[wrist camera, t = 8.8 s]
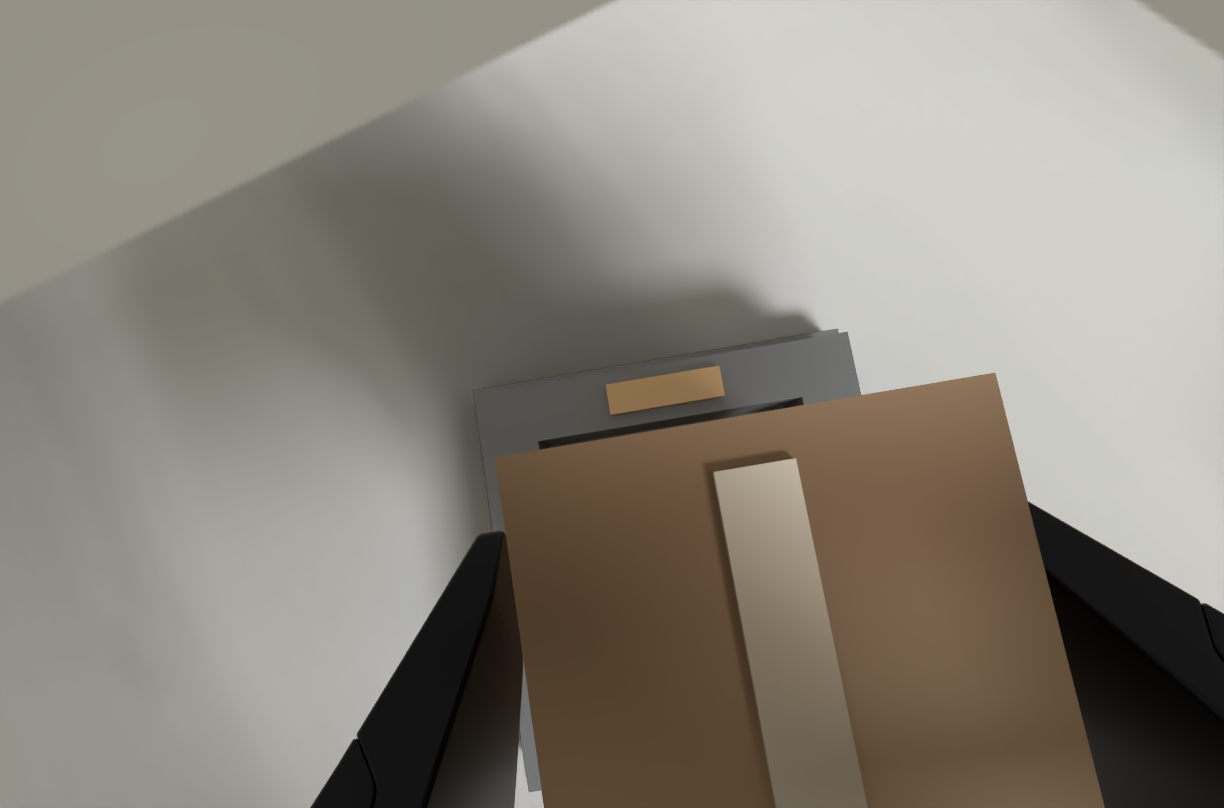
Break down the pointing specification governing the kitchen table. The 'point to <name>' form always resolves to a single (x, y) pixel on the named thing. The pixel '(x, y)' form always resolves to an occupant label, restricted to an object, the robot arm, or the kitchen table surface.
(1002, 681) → the tall cardboard box
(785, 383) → the square gray tray
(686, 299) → the kitchen table surface
